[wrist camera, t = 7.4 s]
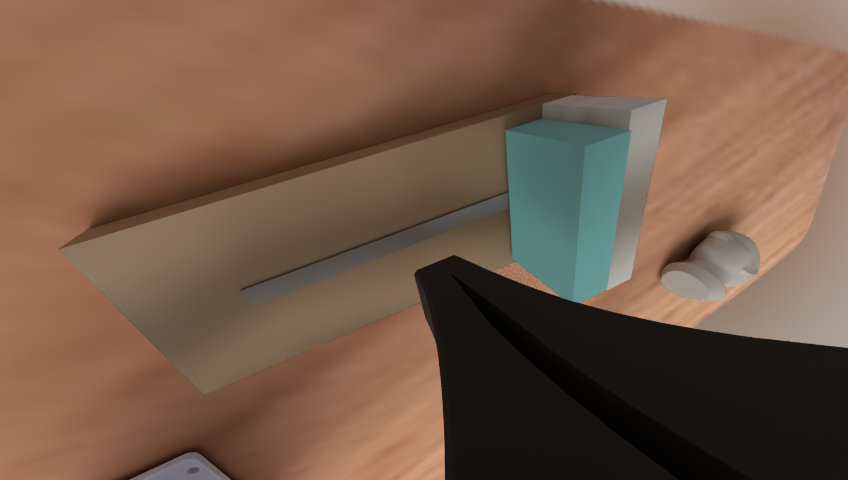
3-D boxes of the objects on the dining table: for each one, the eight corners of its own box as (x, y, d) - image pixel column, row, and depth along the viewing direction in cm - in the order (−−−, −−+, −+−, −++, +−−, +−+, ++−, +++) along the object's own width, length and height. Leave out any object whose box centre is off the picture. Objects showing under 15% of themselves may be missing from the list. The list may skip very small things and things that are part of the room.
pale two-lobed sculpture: (710, 220, 27) (709, 273, 28) (650, 239, 25) (651, 297, 26) (780, 223, 23) (775, 286, 24) (716, 248, 21) (714, 316, 22)
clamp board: (548, 228, 18) (634, 276, 14) (211, 367, 14) (172, 505, 9) (551, 93, 14) (672, 96, 10) (87, 229, 10) (-84, 348, 6)
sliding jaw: (541, 246, 16) (606, 289, 13) (512, 259, 15) (572, 306, 12) (542, 118, 13) (631, 130, 9) (505, 130, 12) (584, 146, 9)
